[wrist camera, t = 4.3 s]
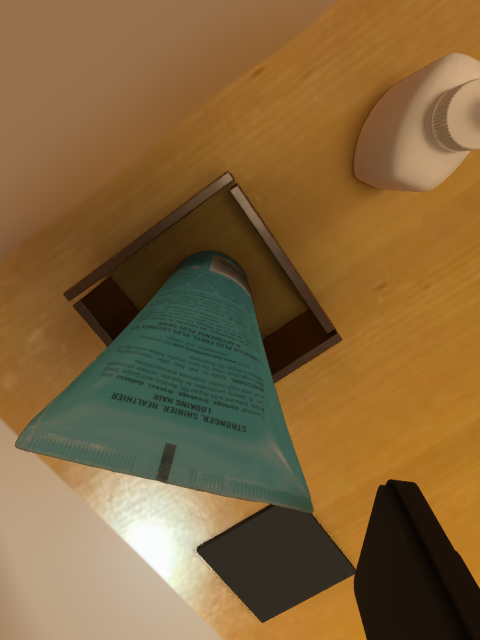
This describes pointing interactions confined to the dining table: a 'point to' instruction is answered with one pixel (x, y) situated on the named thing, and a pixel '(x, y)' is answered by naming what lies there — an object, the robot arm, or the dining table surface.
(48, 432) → the tube
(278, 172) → the dining table surface
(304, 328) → the tube holder
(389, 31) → the dining table surface
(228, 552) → the mat
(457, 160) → the eye dropper bottle
